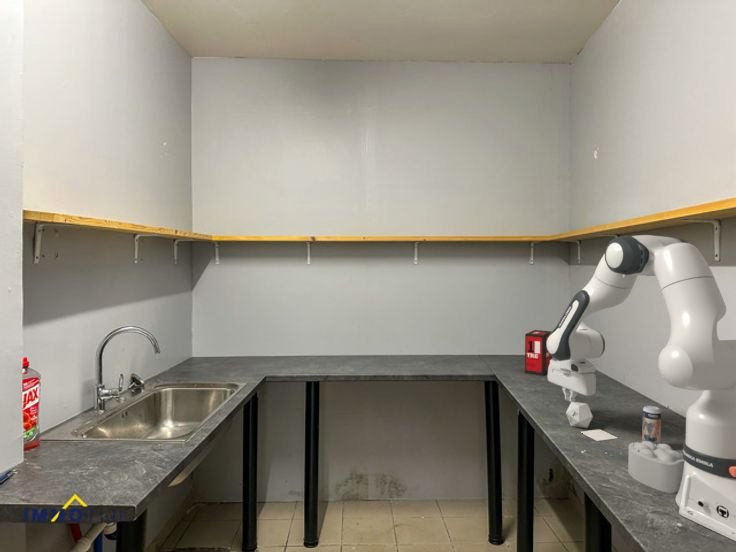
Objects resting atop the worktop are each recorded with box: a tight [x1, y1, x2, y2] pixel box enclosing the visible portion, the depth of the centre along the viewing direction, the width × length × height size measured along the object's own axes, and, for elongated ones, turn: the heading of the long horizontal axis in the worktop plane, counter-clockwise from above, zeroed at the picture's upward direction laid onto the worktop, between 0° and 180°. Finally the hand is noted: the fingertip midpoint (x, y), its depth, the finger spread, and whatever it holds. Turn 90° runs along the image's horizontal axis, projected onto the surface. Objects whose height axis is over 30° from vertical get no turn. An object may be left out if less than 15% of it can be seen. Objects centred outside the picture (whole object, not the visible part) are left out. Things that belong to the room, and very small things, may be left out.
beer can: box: [641, 405, 662, 445], centre depth 134 cm, size 5×5×12 cm
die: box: [565, 401, 594, 429], centre depth 151 cm, size 8×9×10 cm
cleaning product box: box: [524, 329, 553, 377], centre depth 226 cm, size 16×9×20 cm, turn 143°
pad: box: [580, 428, 619, 442], centre depth 143 cm, size 8×8×1 cm
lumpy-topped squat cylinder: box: [627, 441, 684, 494], centre depth 115 cm, size 10×13×9 cm
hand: (569, 401), depth 156 cm, fingers closed
